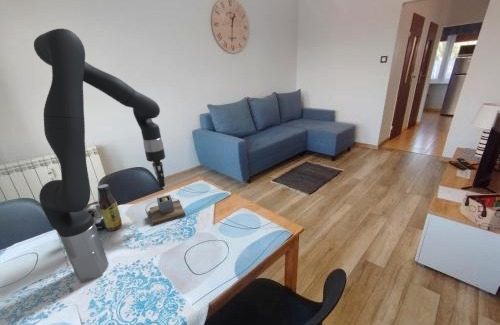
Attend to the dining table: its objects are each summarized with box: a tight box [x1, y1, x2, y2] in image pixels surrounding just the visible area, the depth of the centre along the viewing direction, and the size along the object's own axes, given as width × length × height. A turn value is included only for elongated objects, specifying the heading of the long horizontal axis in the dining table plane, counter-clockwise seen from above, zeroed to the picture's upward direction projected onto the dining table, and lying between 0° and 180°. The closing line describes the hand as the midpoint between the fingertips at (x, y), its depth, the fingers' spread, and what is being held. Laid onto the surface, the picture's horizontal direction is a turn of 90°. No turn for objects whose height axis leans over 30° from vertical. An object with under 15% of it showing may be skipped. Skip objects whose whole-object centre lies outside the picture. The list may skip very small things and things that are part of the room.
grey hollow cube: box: [156, 194, 174, 215], centre depth 108 cm, size 6×6×6 cm
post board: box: [149, 198, 186, 226], centre depth 108 cm, size 14×14×8 cm
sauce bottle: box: [97, 183, 123, 232], centre depth 98 cm, size 6×6×20 cm
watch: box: [85, 203, 107, 232], centre depth 99 cm, size 6×8×11 cm
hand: (161, 183), depth 104 cm, fingers open, 8 cm apart
